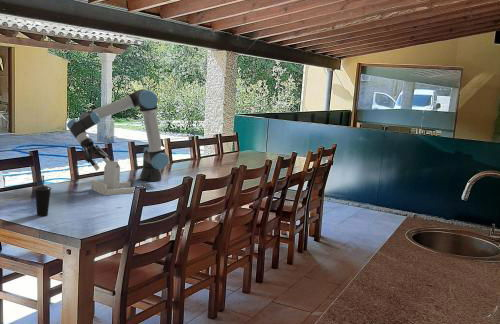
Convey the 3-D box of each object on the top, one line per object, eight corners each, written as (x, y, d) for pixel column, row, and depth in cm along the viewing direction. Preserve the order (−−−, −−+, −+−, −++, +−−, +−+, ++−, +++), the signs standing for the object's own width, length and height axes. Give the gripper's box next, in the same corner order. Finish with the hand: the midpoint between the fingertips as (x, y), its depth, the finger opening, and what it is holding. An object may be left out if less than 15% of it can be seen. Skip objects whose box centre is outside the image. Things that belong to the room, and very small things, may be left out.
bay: (131, 185, 330) (131, 176, 329) (145, 191, 317) (146, 182, 316) (91, 188, 312) (91, 179, 311) (104, 195, 298) (105, 185, 297)
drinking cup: (37, 212, 251) (37, 173, 248) (52, 213, 251) (53, 174, 248) (31, 216, 243) (32, 176, 240) (47, 217, 244) (48, 177, 241)
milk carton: (113, 192, 307) (115, 162, 304) (103, 191, 308) (104, 161, 305) (119, 190, 314) (120, 160, 311) (108, 189, 315) (109, 159, 312)
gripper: (93, 143, 325) (112, 168, 322) (68, 146, 301) (88, 174, 299) (100, 136, 322) (119, 161, 320) (75, 138, 299) (96, 166, 297)
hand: (104, 167), depth 310 cm, fingers open, 13 cm apart
